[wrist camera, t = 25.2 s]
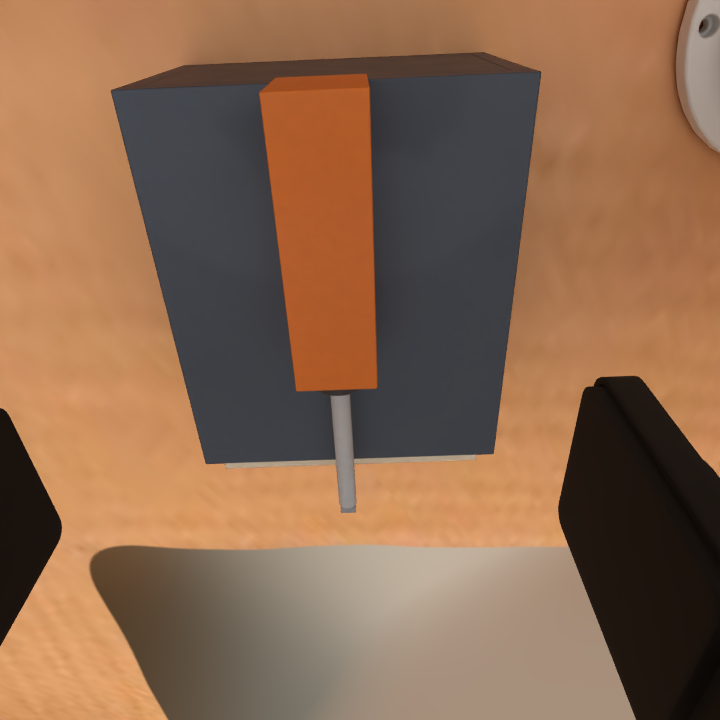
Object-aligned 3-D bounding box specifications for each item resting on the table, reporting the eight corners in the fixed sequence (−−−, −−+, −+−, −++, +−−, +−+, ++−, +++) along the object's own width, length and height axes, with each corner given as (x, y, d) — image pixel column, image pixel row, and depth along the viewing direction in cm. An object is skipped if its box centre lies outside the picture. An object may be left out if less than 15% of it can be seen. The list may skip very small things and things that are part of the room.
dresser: (462, 355, 34) (493, 454, 27) (238, 363, 35) (205, 464, 27) (485, 52, 26) (541, 71, 18) (182, 65, 26) (110, 90, 18)
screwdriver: (274, 77, 18) (258, 91, 15) (367, 73, 18) (369, 86, 15) (319, 484, 28) (314, 543, 25) (378, 482, 28) (381, 540, 25)
